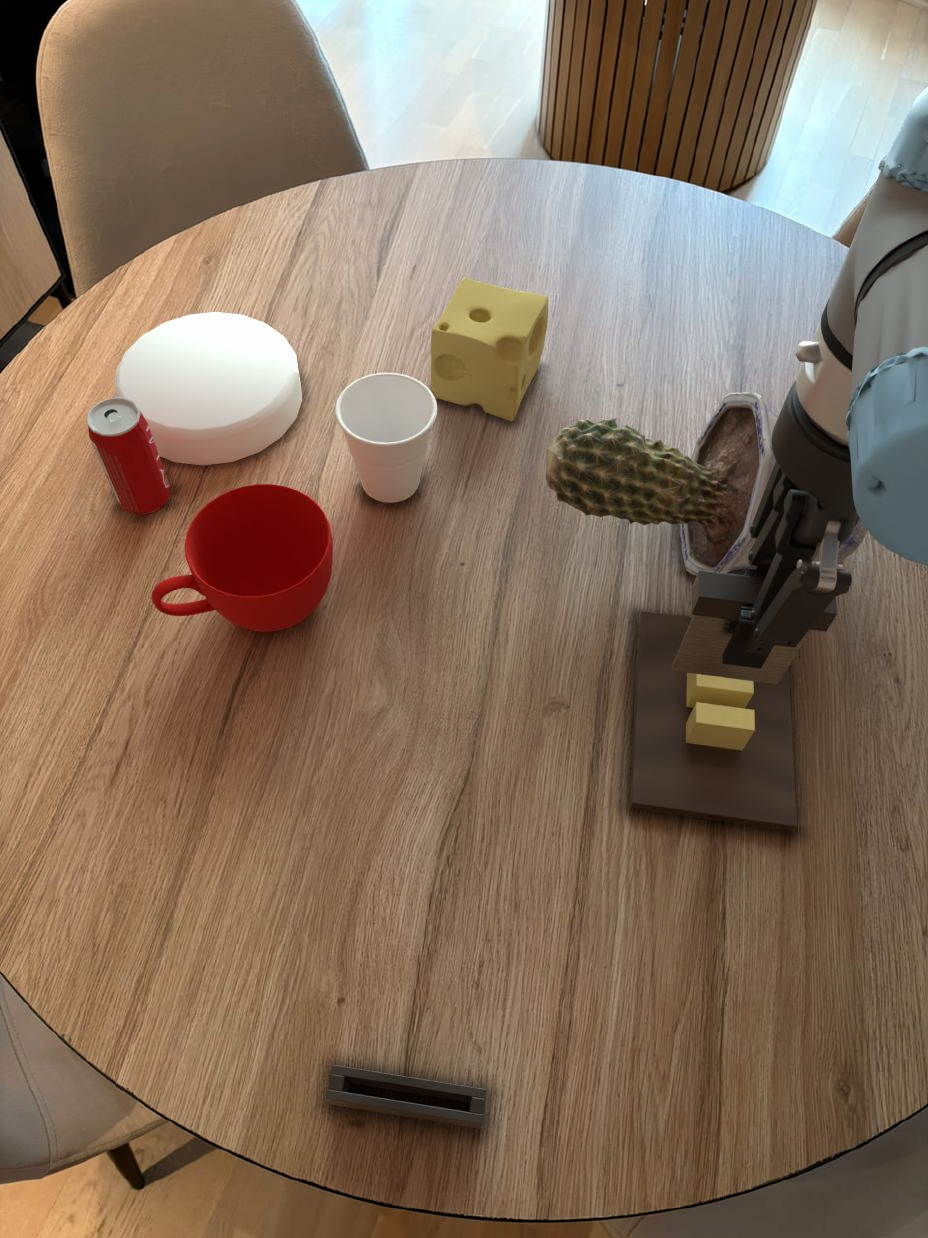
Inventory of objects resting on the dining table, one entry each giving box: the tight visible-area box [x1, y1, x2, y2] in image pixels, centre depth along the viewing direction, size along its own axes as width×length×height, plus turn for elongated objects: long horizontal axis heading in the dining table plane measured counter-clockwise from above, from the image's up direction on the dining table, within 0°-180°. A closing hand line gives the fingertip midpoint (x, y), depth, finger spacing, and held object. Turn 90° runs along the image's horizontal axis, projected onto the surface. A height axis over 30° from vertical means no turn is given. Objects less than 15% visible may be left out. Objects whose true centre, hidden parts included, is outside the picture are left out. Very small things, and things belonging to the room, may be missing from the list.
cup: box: [334, 372, 438, 504], centre depth 97 cm, size 10×10×11 cm
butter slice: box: [686, 702, 755, 750], centre depth 83 cm, size 2×5×4 cm, turn 82°
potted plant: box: [545, 391, 868, 577], centre depth 90 cm, size 18×18×30 cm
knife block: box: [325, 1064, 487, 1130], centre depth 68 cm, size 11×2×4 cm, turn 82°
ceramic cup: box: [151, 483, 334, 632], centre depth 88 cm, size 13×17×10 cm
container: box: [113, 311, 303, 466], centre depth 106 cm, size 20×20×5 cm
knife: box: [672, 570, 838, 684], centre depth 67 cm, size 9×2×11 cm, turn 82°
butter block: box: [686, 673, 754, 709], centre depth 87 cm, size 8×5×4 cm, turn 172°
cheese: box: [430, 276, 549, 422], centre depth 106 cm, size 10×11×10 cm
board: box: [629, 610, 798, 832], centre depth 87 cm, size 20×14×1 cm
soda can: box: [86, 396, 172, 515], centre depth 95 cm, size 6×6×12 cm
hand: (741, 644), depth 68 cm, fingers closed on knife, 2 cm apart
